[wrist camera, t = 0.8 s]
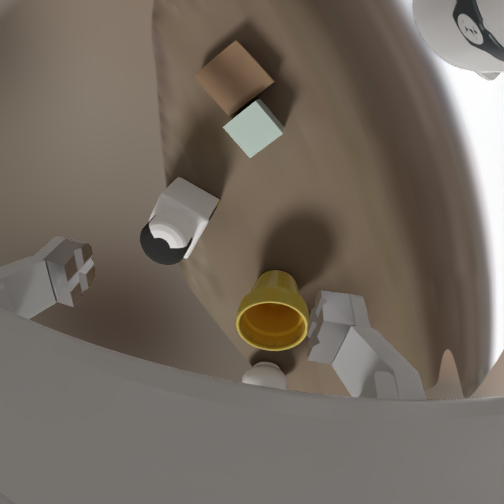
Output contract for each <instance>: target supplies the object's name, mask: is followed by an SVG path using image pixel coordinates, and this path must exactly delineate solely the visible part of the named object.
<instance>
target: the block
mask: <svg viewBox="0 0 504 504" xmlns="http://www.w3.org/2000/svg"><path fill="white" fill-rule="evenodd" d="M193 78H194V79H195V80H196V81H197V82H198V83H199V84H200V85H201V86H202V87H203V88H204V89H205V90H206V92H207V93H208V94H209V95H210V96H211V97H212V98H213V99H214V100H215V101H216V103H217V104H218V105H219V106H220V107H221V108H222V109H223V110H224V111H225V113H226V114H227V115H228V116H229V117H230V116H232V115H233V114H235V113H236V112H237V111H238V110H239V109H241V108H242V107H243V106H244V105H246V104H247V103H248V102H249V101H251V100H252V99H253V98H255V97H256V96H257V95H258V94H260V93H261V92H262V91H264V90H265V89H266V88H268V87H269V86H270V85H272V84H273V83H274V82H275V80H274V79H273V78H272V77H271V76H270V75H269V74H268V72H267V71H266V70H265V69H264V68H263V67H262V66H261V65H260V64H259V62H258V61H257V60H256V59H255V58H254V57H253V56H252V55H251V54H250V53H249V52H248V50H247V49H246V48H245V47H244V46H243V45H242V44H241V43H240V42H238V41H237V40H235V41H234V42H233V43H232V44H230V45H229V46H228V47H227V48H225V49H224V50H223V51H222V52H221V53H219V54H218V55H217V56H216V57H215V58H213V59H212V60H211V61H210V62H209V63H208V64H207V65H205V66H204V67H203V68H202V69H201V70H200V71H199V72H197V73H196V74H195V75H194V76H193Z"/></svg>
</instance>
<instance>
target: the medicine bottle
mask: <svg viewBox="0 0 504 504" xmlns="http://www.w3.org/2000/svg"><path fill="white" fill-rule="evenodd" d="M219 202H220V200H219V199H218V198H216V197H214V196H213V195H211V194H209V193H207V192H206V191H204V190H202V189H200V188H199V187H197V186H195V185H193V184H192V183H190V182H188V181H186V180H185V179H183V178H181V177H178V178H176V179H175V180H174V181H173V182H172V183H171V184H170V185H169V186H168V187H167V188H166V189H165V190H164V191H163V192H162V193H161V194H160V196H159V198H158V201H157V203H156V205H155V207H154V210H153V212H152V214H151V216H150V219H149V221H148V223H147V224H146V226H145V227H144V228H143V229H142V231H141V235H140V243H141V246H142V248H143V250H144V252H145V253H146V255H147V256H148V257H149V258H150V259H152V260H153V261H155V262H157V263H160V264H164V265H172V264H176V263H178V262H179V261H181V260H182V259H183V257H184V258H188V257H189V255H190V254H191V252H192V250H193V248H194V246H195V245H196V243H197V241H198V239H199V238H200V236H201V234H202V233H203V231H204V229H205V227H206V226H207V224H208V222H209V220H210V219H211V217H212V215H213V213H214V211H215V210H216V208H217V206H218V204H219Z"/></svg>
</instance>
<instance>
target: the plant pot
mask: <svg viewBox="0 0 504 504" xmlns="http://www.w3.org/2000/svg"><path fill="white" fill-rule="evenodd" d="M308 320H309V314H308V308H307V305H306V303H305V301H304V300H303V299H302V298H301V296H300V293H299V290H298V287H297V284H296V281H295V280H294V278H293V277H292V276H291V275H290V274H288V273H286V272H284V271H280V270H271V271H267V272H265V273H263V274H262V275H261V276H260V277H259V278H258V280H257V282H256V284H255V285H254V287H253V289H252V291H251V292H250V293H249V294H247V295H246V296H245V297H244V298H243V300H242V301H241V304H240V306H239V310H238V313H237V318H236V327H237V331H238V333H239V334H240V336H241V337H242V338H243V339H244V340H245V341H246V342H247V343H249V344H250V345H252V346H254V347H257V348H259V349H263V350H269V351H280V350H286V349H290V348H292V347H294V346H296V345H298V344H299V343H301V342H302V341H303V340H304V338H305V337H306V335H307V326H308Z"/></svg>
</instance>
